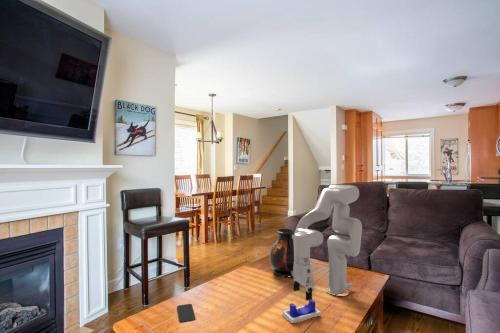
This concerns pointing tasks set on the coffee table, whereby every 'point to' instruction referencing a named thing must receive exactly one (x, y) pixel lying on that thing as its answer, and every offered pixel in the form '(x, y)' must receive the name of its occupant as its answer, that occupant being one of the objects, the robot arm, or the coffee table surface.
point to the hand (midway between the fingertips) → (302, 295)
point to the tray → (300, 318)
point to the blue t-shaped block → (305, 310)
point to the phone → (185, 313)
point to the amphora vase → (283, 253)
